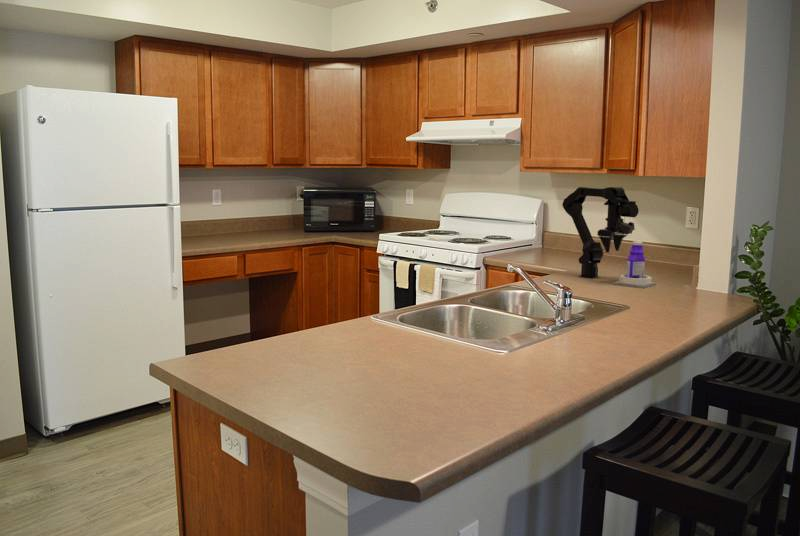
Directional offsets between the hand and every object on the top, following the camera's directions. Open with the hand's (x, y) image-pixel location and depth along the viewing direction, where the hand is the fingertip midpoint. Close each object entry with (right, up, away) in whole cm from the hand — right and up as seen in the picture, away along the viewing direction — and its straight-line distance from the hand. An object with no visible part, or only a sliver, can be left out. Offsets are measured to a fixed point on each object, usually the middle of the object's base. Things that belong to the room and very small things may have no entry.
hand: (612, 251), depth 295 cm
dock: (+7, -14, -8) cm, 18 cm away
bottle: (+7, -14, -8) cm, 17 cm away
